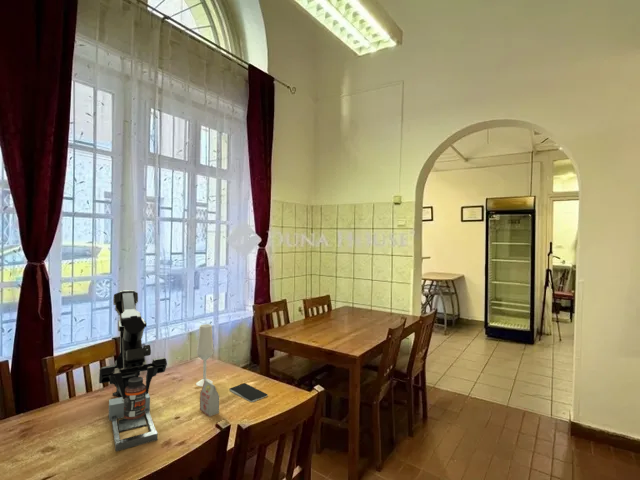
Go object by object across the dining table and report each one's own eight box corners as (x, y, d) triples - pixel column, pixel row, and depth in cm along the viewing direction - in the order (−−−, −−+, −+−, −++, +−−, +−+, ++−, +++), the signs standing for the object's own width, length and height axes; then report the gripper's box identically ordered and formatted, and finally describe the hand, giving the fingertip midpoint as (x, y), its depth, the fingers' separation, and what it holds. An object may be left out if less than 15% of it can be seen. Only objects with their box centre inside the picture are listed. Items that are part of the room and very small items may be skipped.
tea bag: (209, 406, 127) (210, 378, 127) (218, 413, 122) (219, 384, 122) (199, 409, 124) (200, 381, 124) (209, 416, 119) (209, 387, 119)
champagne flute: (196, 380, 149) (197, 324, 149) (212, 379, 151) (213, 323, 151) (195, 387, 143) (196, 328, 143) (213, 385, 145) (214, 327, 145)
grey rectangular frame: (111, 421, 115) (111, 414, 115) (148, 412, 121) (148, 406, 121) (115, 451, 99) (115, 444, 99) (157, 440, 105) (157, 433, 105)
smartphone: (251, 401, 130) (228, 388, 140) (251, 404, 130) (228, 391, 140) (268, 394, 136) (245, 382, 146) (268, 397, 136) (245, 385, 146)
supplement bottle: (136, 421, 105) (136, 384, 105) (118, 419, 106) (119, 381, 106) (149, 412, 111) (150, 376, 111) (133, 409, 112) (133, 374, 112)
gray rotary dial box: (108, 414, 120) (109, 397, 120) (147, 405, 126) (147, 389, 126) (109, 420, 115) (109, 403, 115) (149, 411, 122) (150, 394, 122)
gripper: (100, 341, 106) (100, 391, 97) (166, 333, 117) (172, 378, 108) (98, 359, 113) (99, 407, 104) (161, 349, 123) (167, 393, 114)
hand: (135, 396), depth 107 cm, fingers closed on supplement bottle, 6 cm apart
